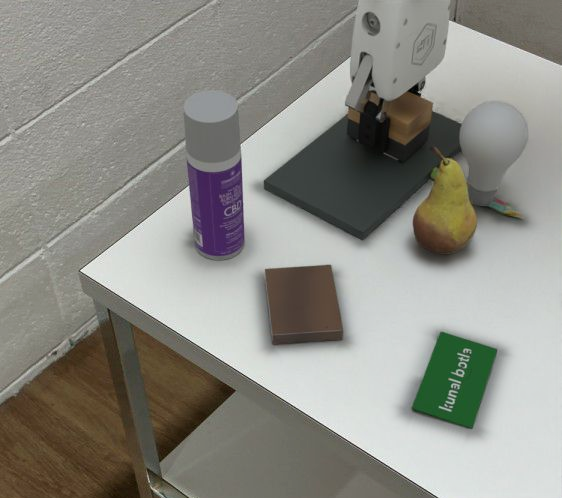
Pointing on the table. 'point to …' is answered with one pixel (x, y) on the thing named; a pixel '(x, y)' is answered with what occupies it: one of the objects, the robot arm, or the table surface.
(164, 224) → the table surface
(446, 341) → the business card
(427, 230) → the fruit
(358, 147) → the board
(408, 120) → the eraser
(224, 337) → the table surface
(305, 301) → the eraser rest
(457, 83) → the table surface
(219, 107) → the container
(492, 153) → the lightbulb
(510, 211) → the pencil
